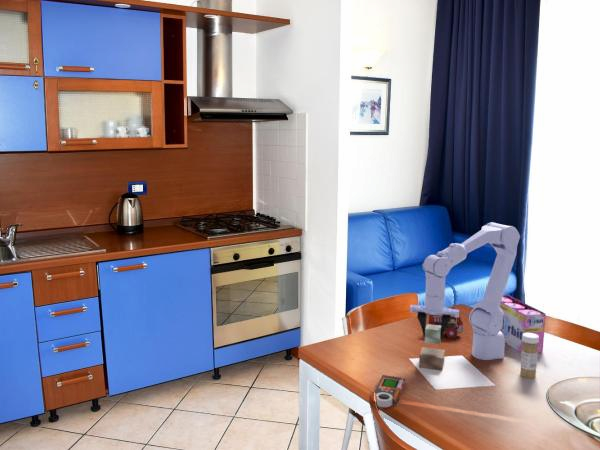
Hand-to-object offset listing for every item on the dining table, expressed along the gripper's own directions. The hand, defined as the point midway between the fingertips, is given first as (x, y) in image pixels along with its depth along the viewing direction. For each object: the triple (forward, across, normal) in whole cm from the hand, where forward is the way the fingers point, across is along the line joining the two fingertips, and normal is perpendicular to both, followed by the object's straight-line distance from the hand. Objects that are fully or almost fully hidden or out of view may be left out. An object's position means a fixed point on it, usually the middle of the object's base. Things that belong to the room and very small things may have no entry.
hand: (433, 336), depth 172 cm
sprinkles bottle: (+10, +28, +2) cm, 30 cm away
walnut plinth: (+9, 0, 0) cm, 9 cm away
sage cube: (+1, 0, 0) cm, 1 cm away
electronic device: (+10, -10, -23) cm, 27 cm away
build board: (+10, +6, -3) cm, 12 cm away
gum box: (+10, +25, +32) cm, 42 cm away
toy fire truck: (+10, +1, +31) cm, 32 cm away
